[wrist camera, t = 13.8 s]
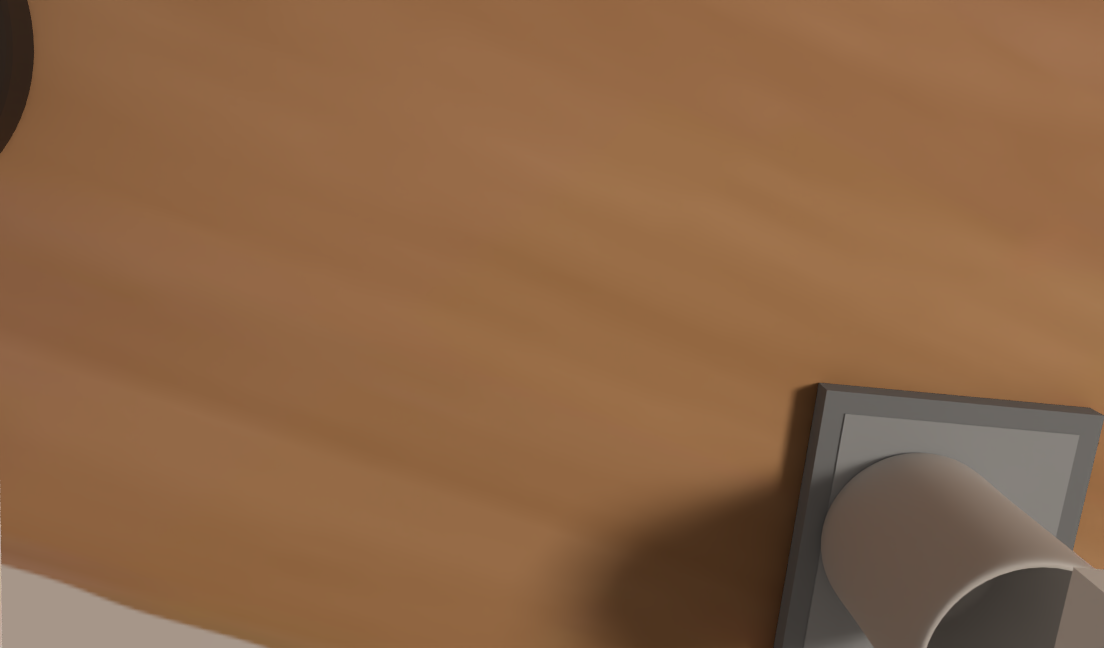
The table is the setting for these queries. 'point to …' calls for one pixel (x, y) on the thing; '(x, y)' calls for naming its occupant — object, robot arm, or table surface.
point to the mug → (943, 559)
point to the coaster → (938, 428)
